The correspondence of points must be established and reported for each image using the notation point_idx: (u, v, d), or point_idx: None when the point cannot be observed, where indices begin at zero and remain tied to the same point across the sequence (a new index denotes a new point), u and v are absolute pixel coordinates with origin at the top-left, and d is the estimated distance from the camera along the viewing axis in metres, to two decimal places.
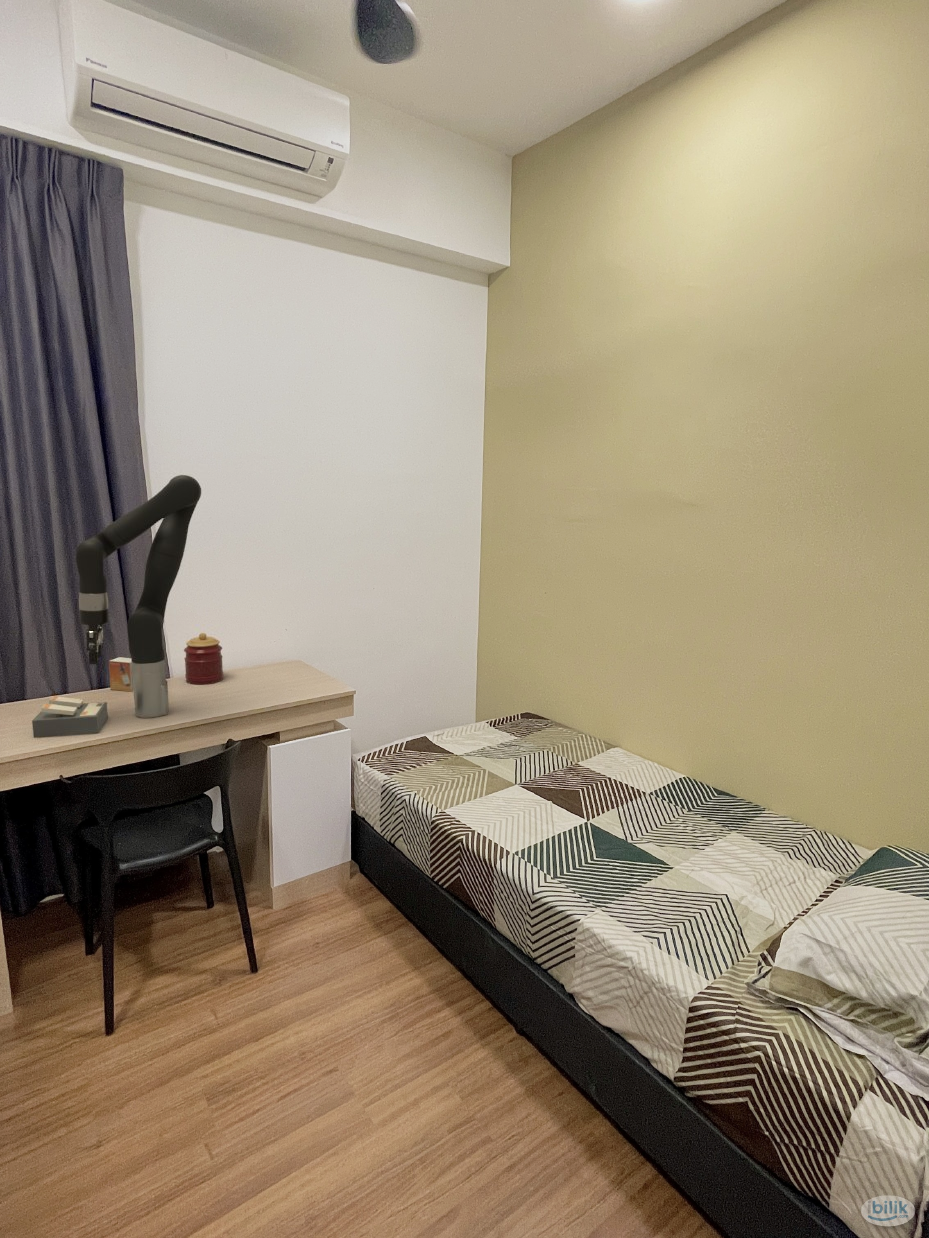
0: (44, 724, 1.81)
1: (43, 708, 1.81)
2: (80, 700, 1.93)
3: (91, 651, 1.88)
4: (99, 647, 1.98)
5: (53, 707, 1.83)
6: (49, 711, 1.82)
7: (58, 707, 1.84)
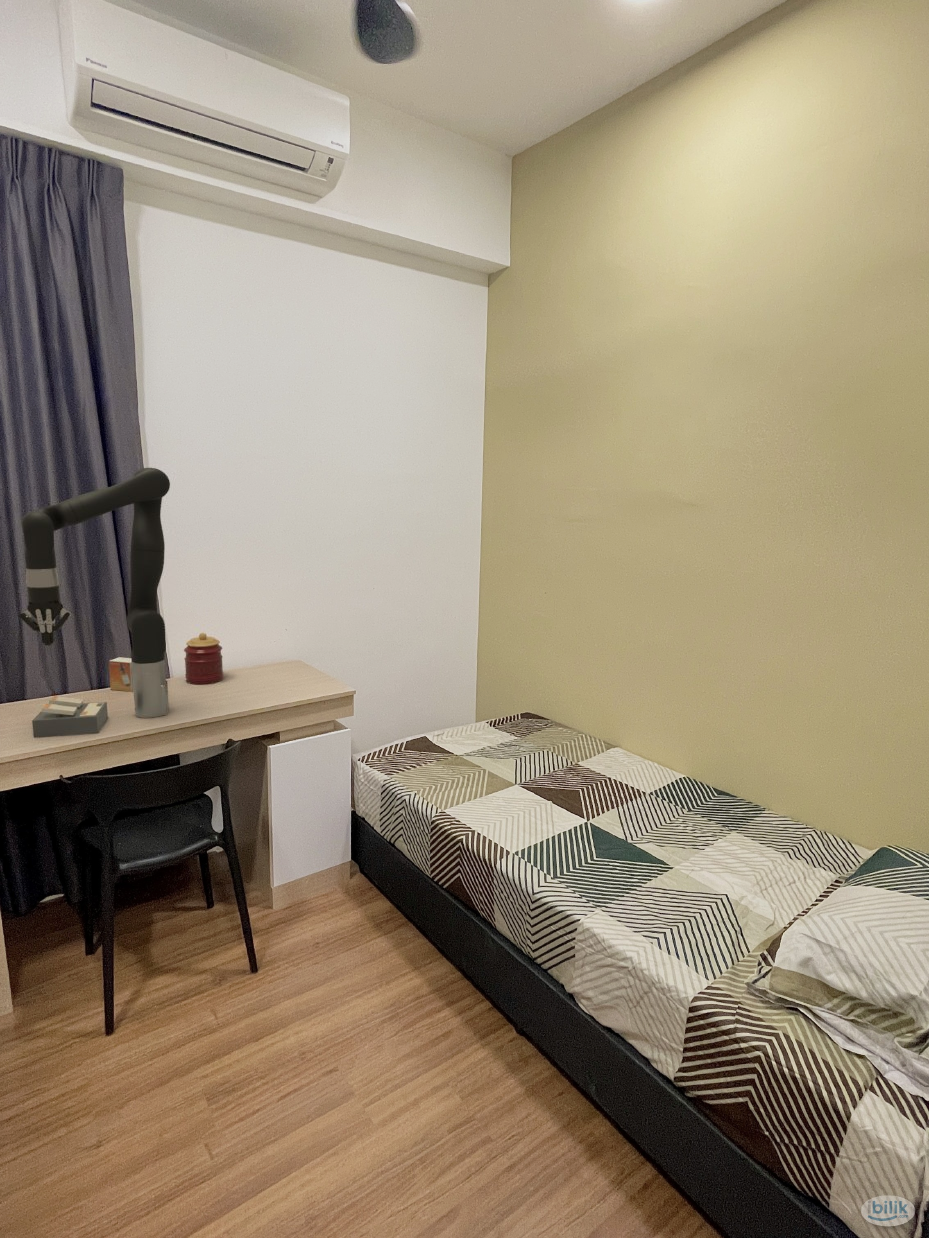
0: (44, 724, 1.81)
1: (43, 708, 1.81)
2: (80, 700, 1.93)
3: (56, 629, 1.83)
4: None
5: (53, 707, 1.83)
6: (49, 711, 1.82)
7: (58, 707, 1.84)
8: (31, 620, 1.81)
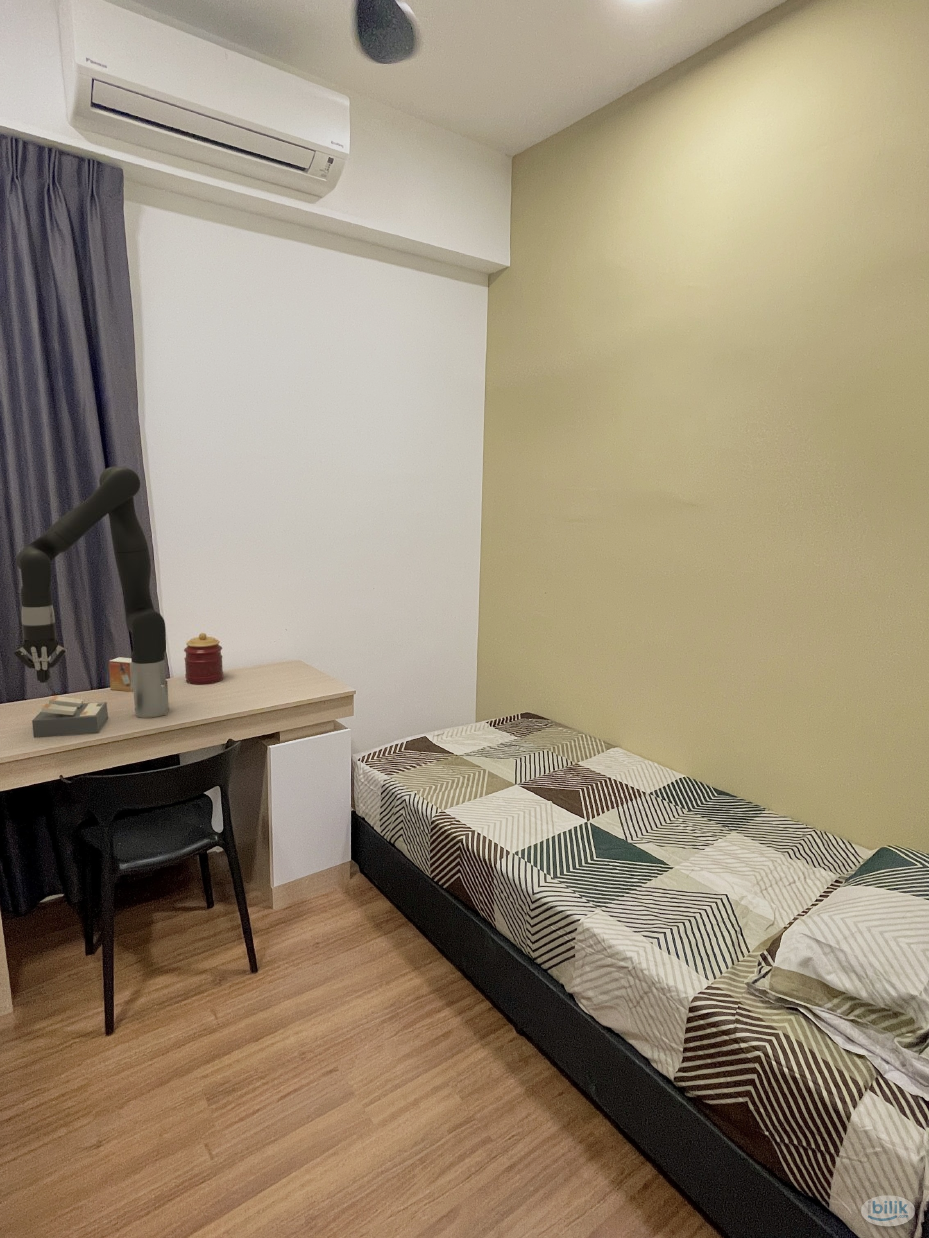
0: (44, 724, 1.81)
1: (43, 708, 1.81)
2: (80, 700, 1.93)
3: None
4: None
5: (53, 707, 1.83)
6: (49, 711, 1.82)
7: (58, 707, 1.84)
8: (26, 657, 1.79)
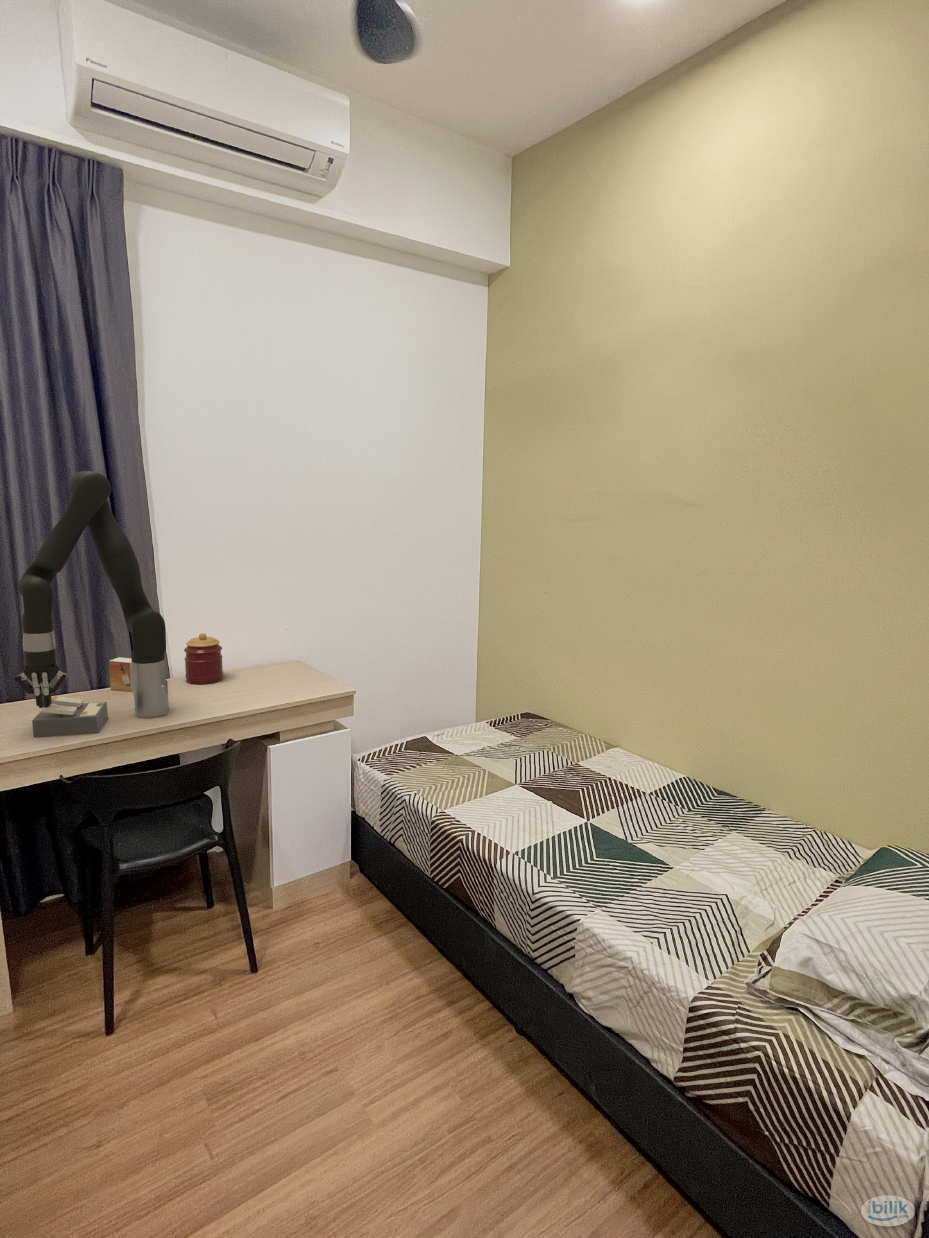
0: (44, 724, 1.81)
1: (43, 708, 1.81)
2: (80, 700, 1.93)
3: None
4: (42, 696, 1.83)
5: (53, 707, 1.83)
6: (49, 711, 1.82)
7: (58, 707, 1.84)
8: (26, 683, 1.80)
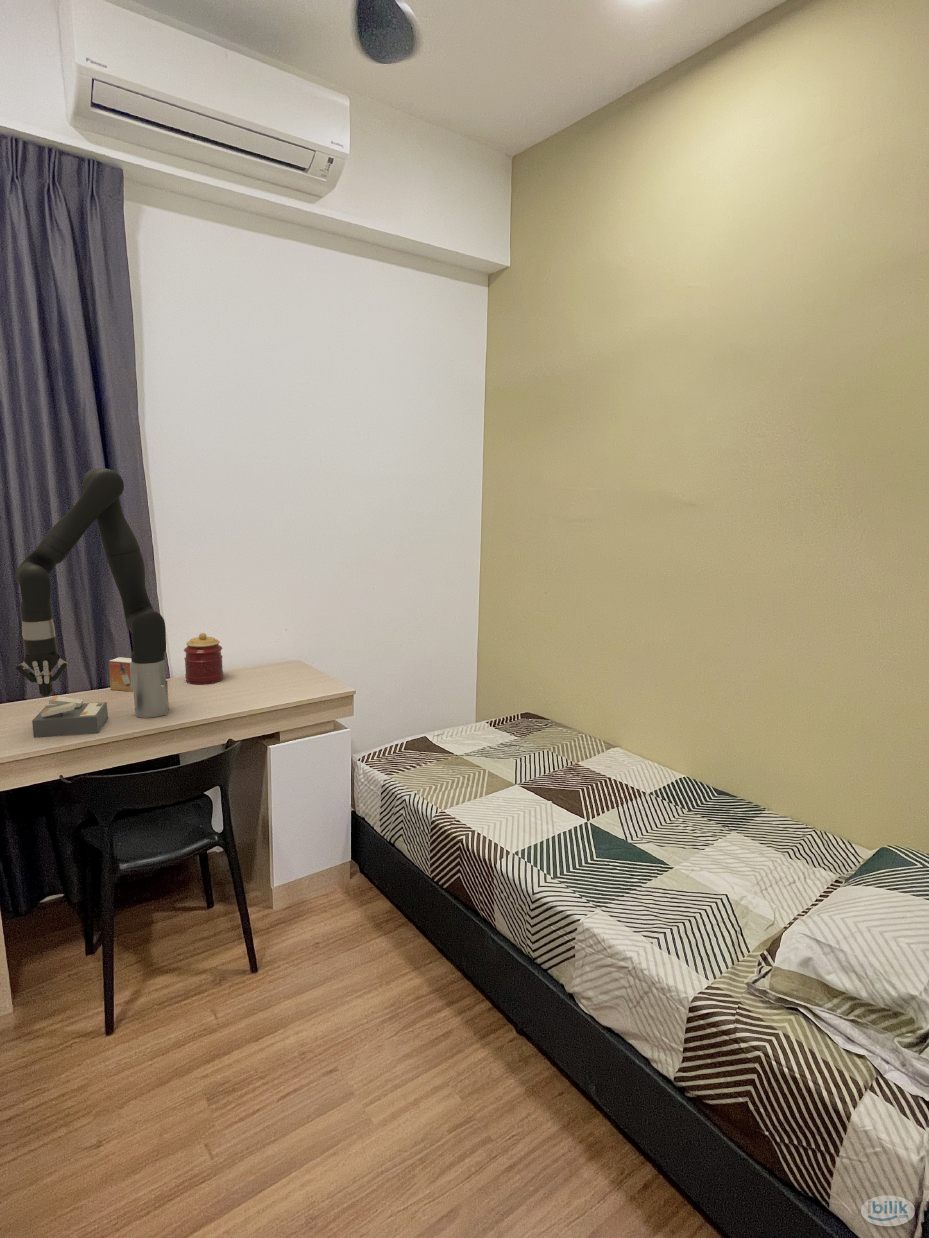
0: (44, 724, 1.81)
1: (42, 713, 1.82)
2: (80, 700, 1.93)
3: None
4: None
5: (52, 709, 1.83)
6: (49, 714, 1.82)
7: (56, 708, 1.84)
8: (28, 672, 1.80)
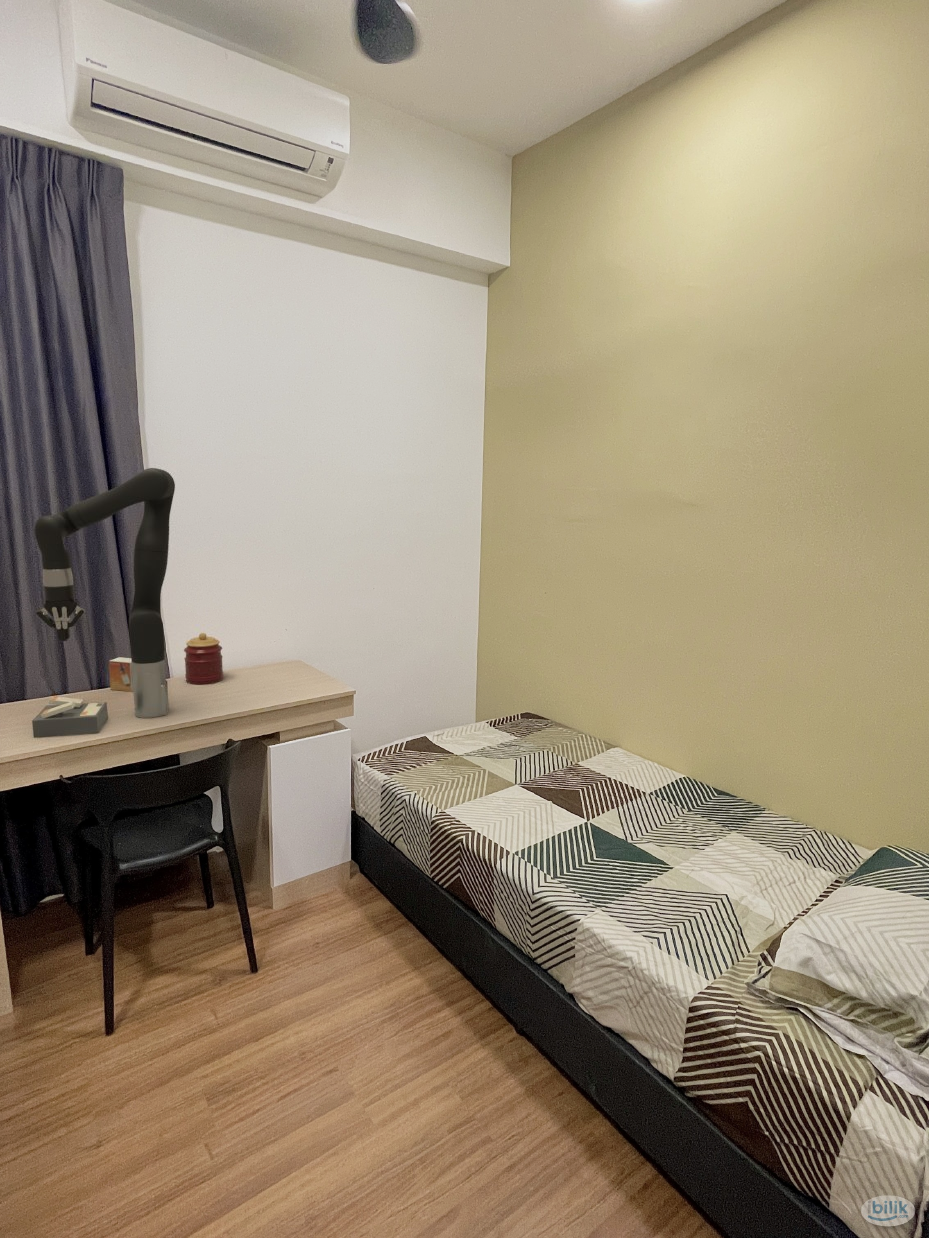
0: (44, 724, 1.81)
1: (42, 714, 1.82)
2: (80, 700, 1.93)
3: None
4: None
5: (51, 710, 1.83)
6: (49, 715, 1.82)
7: (56, 708, 1.84)
8: (47, 617, 1.92)
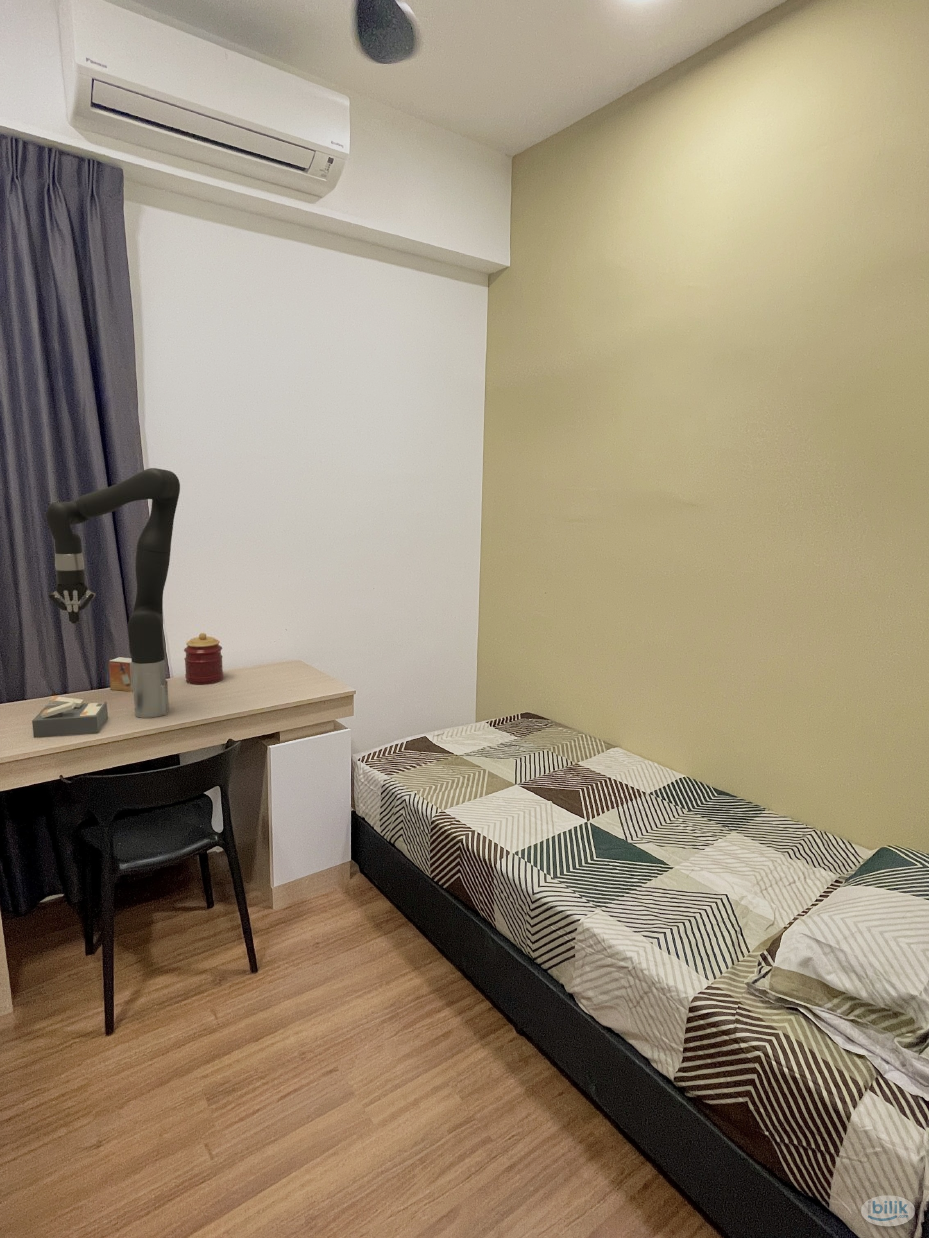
0: (44, 724, 1.81)
1: (42, 714, 1.82)
2: (80, 700, 1.93)
3: (82, 609, 2.02)
4: None
5: (51, 710, 1.83)
6: (49, 714, 1.82)
7: (56, 708, 1.84)
8: (59, 600, 1.99)
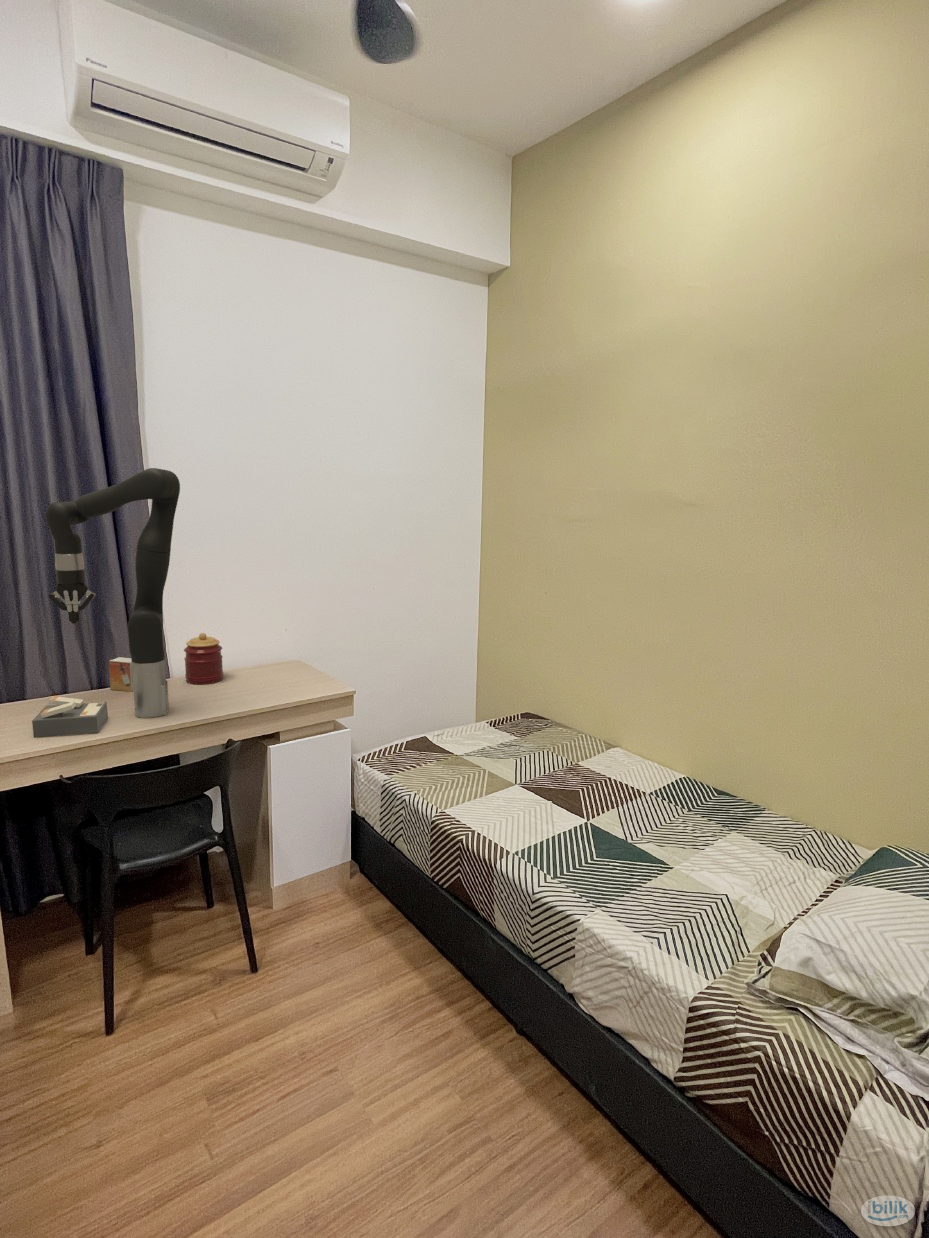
0: (44, 724, 1.81)
1: (42, 714, 1.82)
2: (80, 700, 1.93)
3: (82, 609, 2.02)
4: None
5: (51, 709, 1.83)
6: (49, 714, 1.82)
7: (56, 708, 1.84)
8: (59, 600, 1.99)
